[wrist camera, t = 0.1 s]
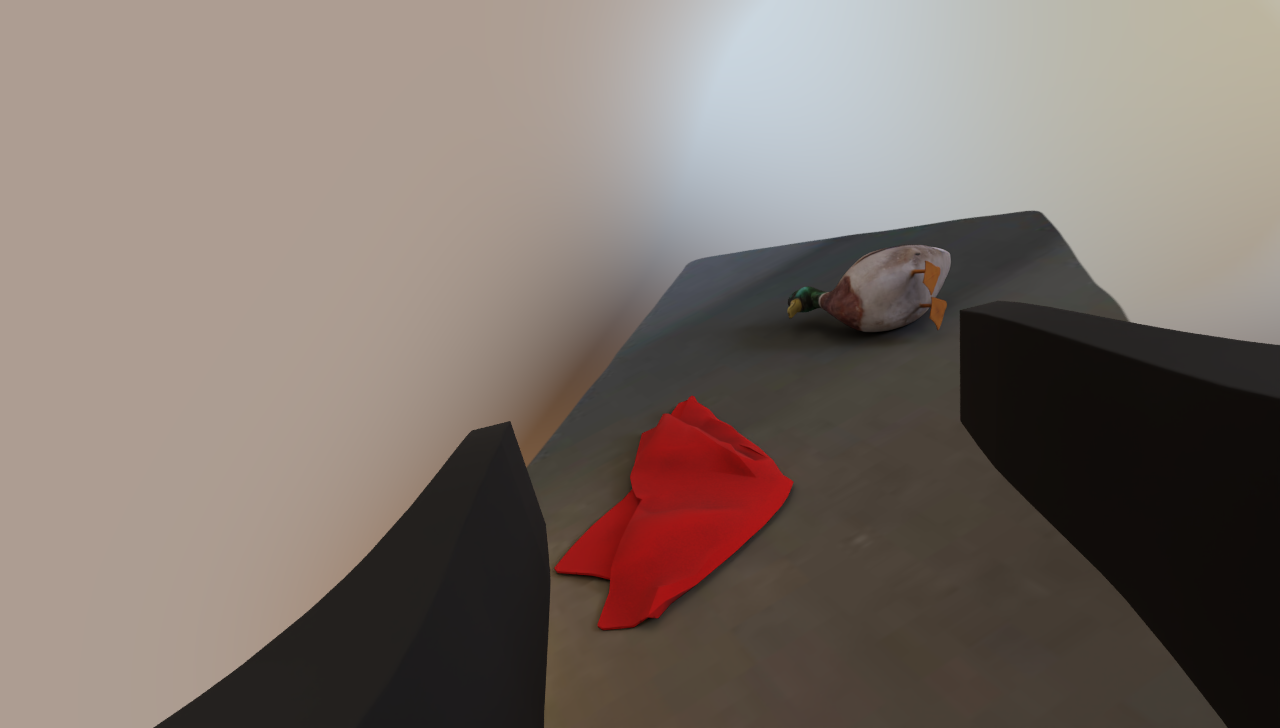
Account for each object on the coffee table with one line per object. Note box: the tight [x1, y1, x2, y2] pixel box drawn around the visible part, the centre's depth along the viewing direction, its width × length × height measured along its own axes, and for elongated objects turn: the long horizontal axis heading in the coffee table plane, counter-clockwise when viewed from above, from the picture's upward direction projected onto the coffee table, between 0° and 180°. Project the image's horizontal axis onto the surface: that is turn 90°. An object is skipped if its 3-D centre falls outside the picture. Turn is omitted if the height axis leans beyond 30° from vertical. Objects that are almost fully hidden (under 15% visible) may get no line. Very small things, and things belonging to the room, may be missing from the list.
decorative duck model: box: [788, 245, 951, 332], centre depth 68 cm, size 15×8×15 cm
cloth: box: [555, 396, 793, 630], centre depth 48 cm, size 26×14×2 cm, turn 159°
